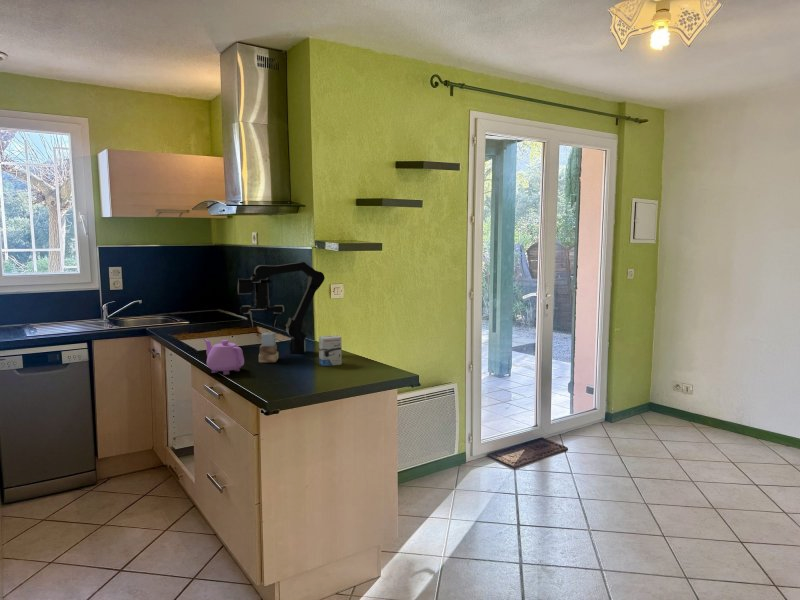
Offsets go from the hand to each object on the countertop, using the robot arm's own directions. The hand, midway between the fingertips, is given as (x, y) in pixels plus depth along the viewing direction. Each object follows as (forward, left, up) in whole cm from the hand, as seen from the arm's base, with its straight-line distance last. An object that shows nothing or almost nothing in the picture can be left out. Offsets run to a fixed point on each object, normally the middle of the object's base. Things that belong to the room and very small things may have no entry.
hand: (262, 328), depth 250 cm
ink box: (-32, +20, -12) cm, 39 cm away
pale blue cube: (-5, +12, -6) cm, 14 cm away
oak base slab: (-5, +12, -13) cm, 18 cm away
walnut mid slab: (-5, +12, -9) cm, 16 cm away
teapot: (+9, +31, -12) cm, 34 cm away
